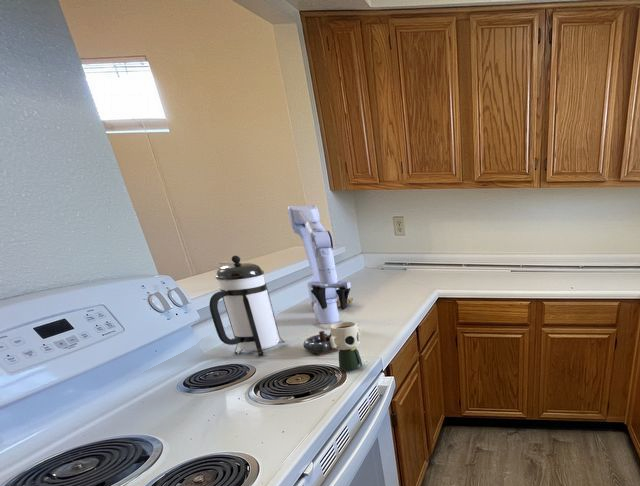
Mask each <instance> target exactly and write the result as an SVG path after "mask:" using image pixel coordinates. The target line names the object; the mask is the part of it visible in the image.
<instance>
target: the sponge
mask: <svg viewBox="0 0 640 486" xmlns="http://www.w3.org/2000/svg"><path fill="white" fill-rule="evenodd" d="M353 300H354V297H353V296H352V295H351V294H350V293H349V294H348V298H347V306H348V305H350V304H352V303H353ZM310 303H311V307H312V308H313V306H314V304H315V303H313V302H312V301H311V302H310ZM336 303H337V308H341V305H340V300H339V298H338V299H337V301H336Z"/></svg>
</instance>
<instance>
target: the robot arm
mask: <svg viewBox="0 0 640 486" xmlns="http://www.w3.org/2000/svg"><path fill="white" fill-rule="evenodd" d="M287 215H288V219H289V223H290V225H291V229H292V231H293V233H294V234H296V235H299V237H300V240H301V242H302V243H303V247H304V251H305V254H306V257H307V261H308V265H309V268H310V271H311V275H312V277H311V278H310V279H309V280H308V282H307V290H308V294H309V298H310V301H311V302H313V303H315V304H314V306H313V307H312V310H313V315H314V319H315V321H316V322H318V323H320V325H321V324H322V325H332V324H335V323H339V322H341V320H340V315H339V309H338V307H337V303H336V301H337V299H338V298H339V300H340V305H341V306H340V309H341V310H342V311H343V310H346V309H347V307H348V305H347V298H348V294H350V291H351V288H352V286H351V285H352V284H351V282H350V281H343V280H339V279H338V273H337V267H336V262H335V257H334V251H333V249H334V239H333V236H332V234H331V231H330V230H326V229H325V227H324V226H323V224H322V223H321V222H320V221H321V216H320V212H319V209H318V207H317V206H316V205H315V204H313V205H296V206H295V205H294V206H292V205H291V206H290V205H289V206H288V207H287Z"/></svg>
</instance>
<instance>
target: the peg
mask: <svg viewBox="0 0 640 486" xmlns="http://www.w3.org/2000/svg"><path fill="white" fill-rule="evenodd" d="M325 334H326V333H325V330H320V331H318V335H320V339H321V342H326V337H325ZM336 351H339V350H338V349H332V350H329V351H322V352H312V351H310V352H311V353H314V354H316V355H318V356H323V355H327V354H329V353H333V352H336Z"/></svg>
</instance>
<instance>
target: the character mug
mask: <svg viewBox="0 0 640 486" xmlns="http://www.w3.org/2000/svg"><path fill="white" fill-rule="evenodd" d="M329 331H330V333H331V337H330V342H331V346H332V348H335V349H338V350H337V351H338V352H337V353H338V367H339V369H340V370H343V371H346V372H347V371H348V372H349V371H355V370H358V369H359V366H360V368H362V367H363V362H362V358H361V355H360V353H359V350H358V349H357V348H358V347H359V346H360V344H361V339H360V336H361V334H360V327H359V326H358V324H357V322H355V321H347V320H346V321H338V322H336V323H332V324H330V326H329Z"/></svg>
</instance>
